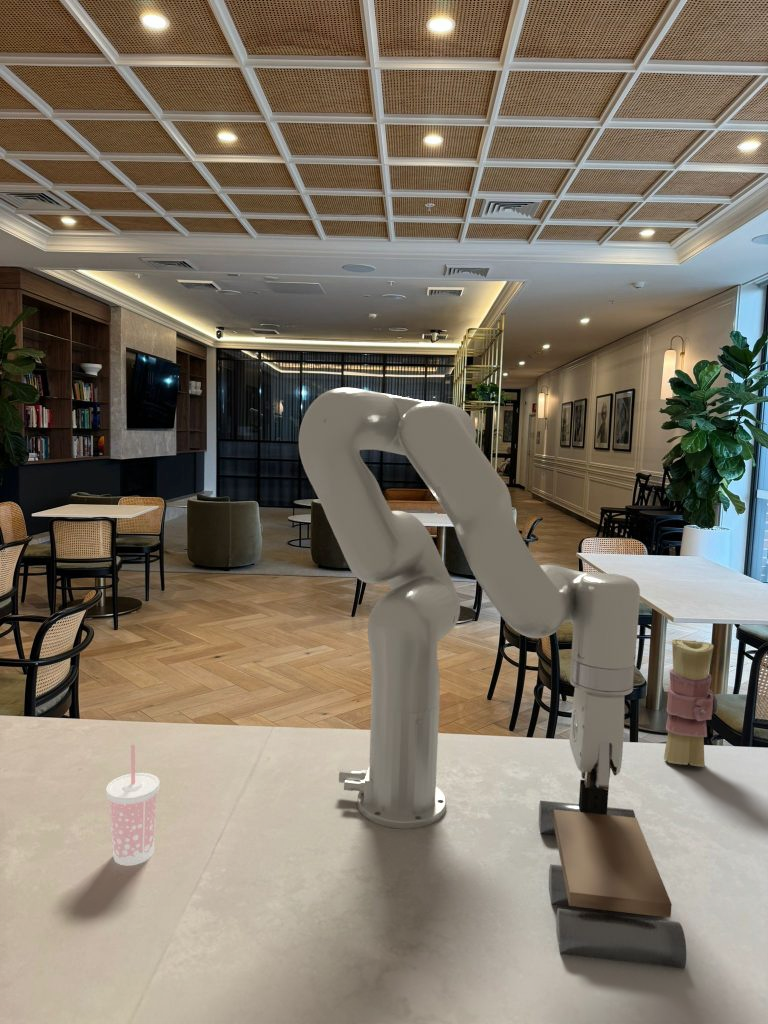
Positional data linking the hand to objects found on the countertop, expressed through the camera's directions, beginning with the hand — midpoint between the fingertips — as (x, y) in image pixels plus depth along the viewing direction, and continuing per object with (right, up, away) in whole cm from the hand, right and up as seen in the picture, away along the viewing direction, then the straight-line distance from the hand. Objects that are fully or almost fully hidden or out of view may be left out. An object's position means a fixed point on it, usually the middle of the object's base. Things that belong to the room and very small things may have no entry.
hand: (592, 813), depth 87 cm
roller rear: (0, -3, +4) cm, 5 cm away
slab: (-1, -2, -9) cm, 10 cm away
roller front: (-2, -4, -10) cm, 11 cm away
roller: (-3, -5, -17) cm, 18 cm away
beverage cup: (-57, -4, -3) cm, 57 cm away
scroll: (+24, -3, +26) cm, 35 cm away
